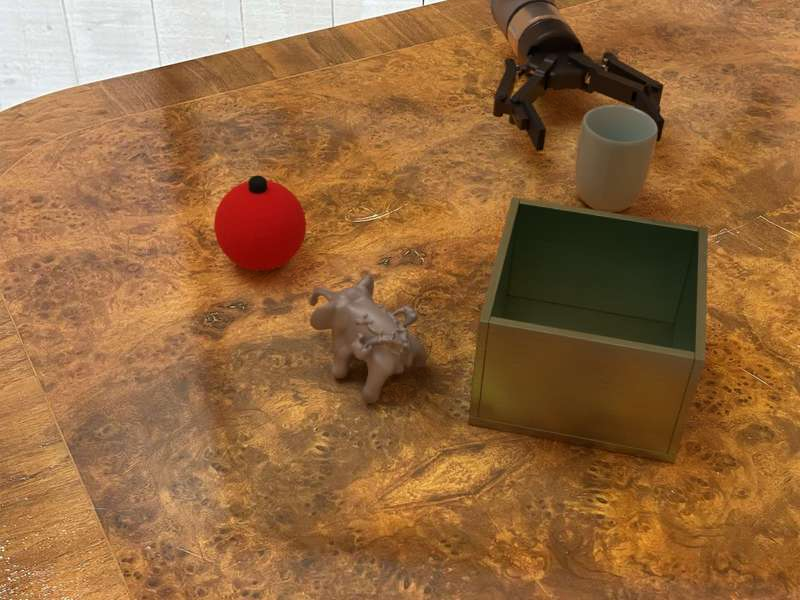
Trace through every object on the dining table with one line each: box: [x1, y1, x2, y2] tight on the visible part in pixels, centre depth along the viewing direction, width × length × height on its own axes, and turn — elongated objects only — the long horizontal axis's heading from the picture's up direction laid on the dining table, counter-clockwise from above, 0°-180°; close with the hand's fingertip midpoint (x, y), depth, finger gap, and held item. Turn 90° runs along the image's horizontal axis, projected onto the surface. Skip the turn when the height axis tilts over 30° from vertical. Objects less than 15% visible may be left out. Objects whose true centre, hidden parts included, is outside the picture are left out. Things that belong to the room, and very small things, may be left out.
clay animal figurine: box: [308, 273, 428, 404], centre depth 95 cm, size 9×12×8 cm
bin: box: [467, 196, 709, 464], centre depth 93 cm, size 18×18×12 cm
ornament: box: [213, 175, 307, 272], centre depth 105 cm, size 9×9×10 cm
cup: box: [574, 104, 658, 213], centre depth 115 cm, size 8×8×10 cm
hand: (600, 135), depth 117 cm, fingers open, 13 cm apart
